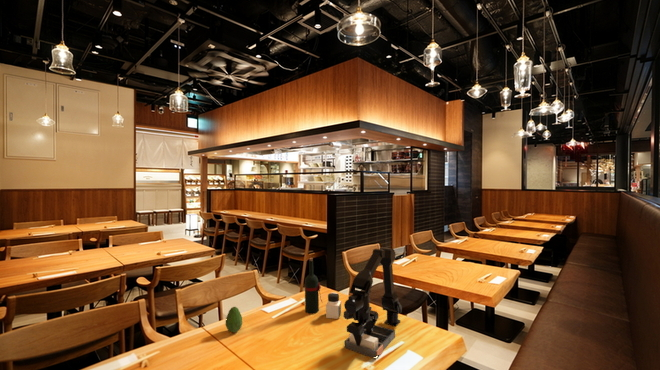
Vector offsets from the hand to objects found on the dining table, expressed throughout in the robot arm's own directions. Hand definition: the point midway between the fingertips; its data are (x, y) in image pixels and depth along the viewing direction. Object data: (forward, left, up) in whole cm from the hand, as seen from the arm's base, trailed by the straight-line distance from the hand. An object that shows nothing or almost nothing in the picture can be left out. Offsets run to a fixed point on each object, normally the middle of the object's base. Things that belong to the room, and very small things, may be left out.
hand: (363, 341), depth 125 cm
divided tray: (-7, 0, -4) cm, 7 cm away
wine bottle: (-19, -42, -4) cm, 46 cm away
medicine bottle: (-20, -29, -4) cm, 35 cm away
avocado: (+21, -61, -4) cm, 65 cm away
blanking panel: (0, 0, -3) cm, 3 cm away
